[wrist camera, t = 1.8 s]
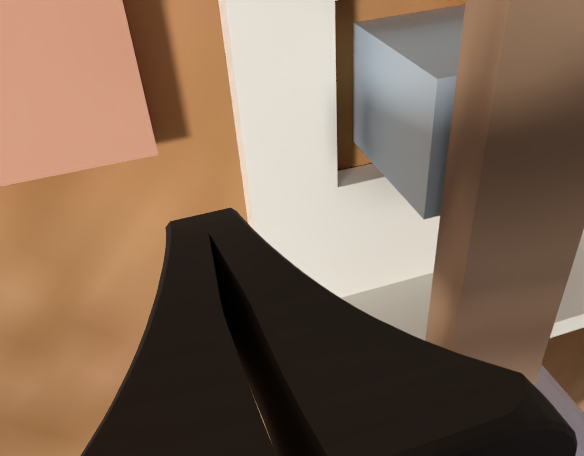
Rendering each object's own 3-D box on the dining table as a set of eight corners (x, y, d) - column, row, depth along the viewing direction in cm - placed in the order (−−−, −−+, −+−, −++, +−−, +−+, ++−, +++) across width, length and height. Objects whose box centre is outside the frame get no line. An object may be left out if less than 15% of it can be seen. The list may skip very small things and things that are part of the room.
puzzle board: (629, 217, 26) (726, 283, 22) (260, 316, 22) (299, 418, 18) (823, -311, 15) (1076, -360, 12) (179, -289, 12) (231, -350, 8)
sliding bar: (508, 357, 20) (534, 387, 19) (419, 385, 19) (440, 418, 18) (689, -343, 9) (770, -366, 8) (506, -340, 9) (569, -365, 7)
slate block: (456, 119, 20) (548, 188, 16) (353, 141, 19) (424, 219, 15) (470, 3, 18) (583, 51, 14) (353, 22, 17) (437, 79, 13)
